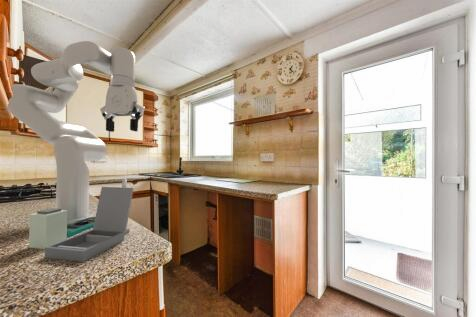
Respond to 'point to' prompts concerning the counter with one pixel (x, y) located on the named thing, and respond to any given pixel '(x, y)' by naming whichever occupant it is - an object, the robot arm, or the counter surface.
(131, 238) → the counter surface
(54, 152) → the robot arm
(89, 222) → the digital multimeter
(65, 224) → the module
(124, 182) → the clear capped tube
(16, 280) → the counter surface
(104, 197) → the lid
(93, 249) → the case
